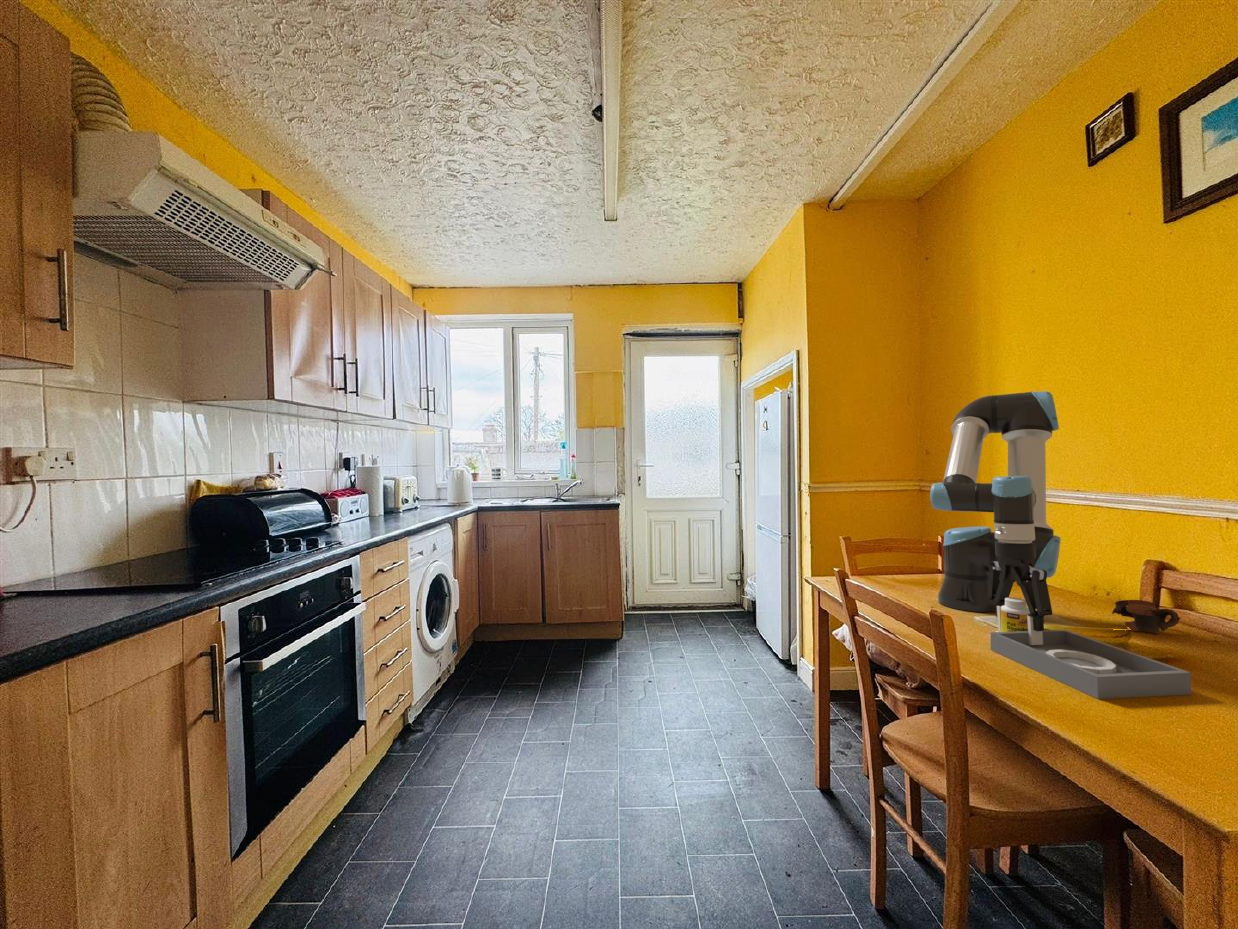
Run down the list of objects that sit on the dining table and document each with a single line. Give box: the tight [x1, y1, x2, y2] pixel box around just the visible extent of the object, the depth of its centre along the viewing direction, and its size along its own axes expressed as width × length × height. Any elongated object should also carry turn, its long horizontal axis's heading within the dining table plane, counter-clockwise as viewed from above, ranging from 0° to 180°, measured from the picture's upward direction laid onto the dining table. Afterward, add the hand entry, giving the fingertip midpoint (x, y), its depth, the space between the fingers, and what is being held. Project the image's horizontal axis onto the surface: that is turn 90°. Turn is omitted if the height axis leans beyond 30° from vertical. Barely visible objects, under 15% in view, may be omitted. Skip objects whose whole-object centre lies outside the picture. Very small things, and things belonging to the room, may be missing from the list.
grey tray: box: [989, 628, 1192, 700], centre depth 102 cm, size 24×18×4 cm
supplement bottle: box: [1001, 596, 1030, 632], centre depth 118 cm, size 6×6×10 cm
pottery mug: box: [1111, 599, 1181, 635], centre depth 125 cm, size 12×10×8 cm
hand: (1019, 638), depth 117 cm, fingers open, 8 cm apart
